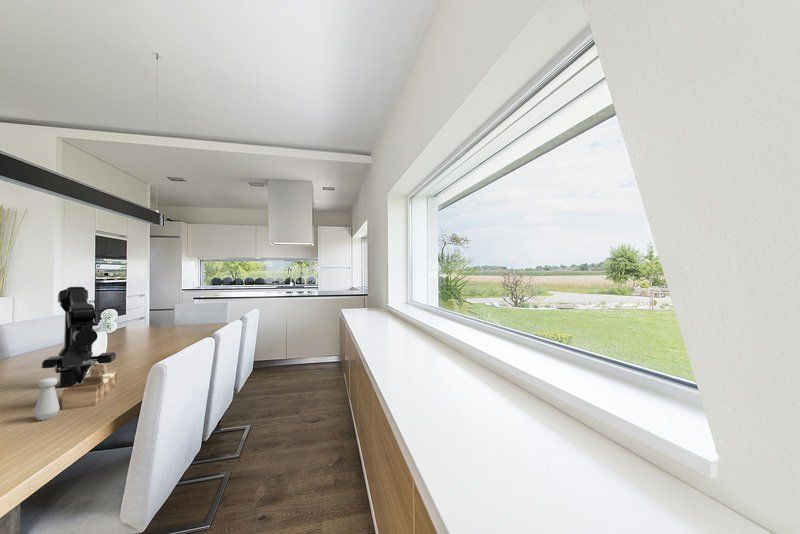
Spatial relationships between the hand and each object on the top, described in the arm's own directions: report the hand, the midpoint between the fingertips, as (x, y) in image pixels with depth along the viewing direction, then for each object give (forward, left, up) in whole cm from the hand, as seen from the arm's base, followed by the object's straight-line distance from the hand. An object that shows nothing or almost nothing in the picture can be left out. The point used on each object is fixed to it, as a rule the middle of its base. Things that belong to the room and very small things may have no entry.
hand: (80, 383), depth 118 cm
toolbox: (-5, +2, -7) cm, 9 cm away
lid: (-8, +2, -3) cm, 8 cm away
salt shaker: (+12, -4, -7) cm, 14 cm away
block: (0, +4, -1) cm, 4 cm away
